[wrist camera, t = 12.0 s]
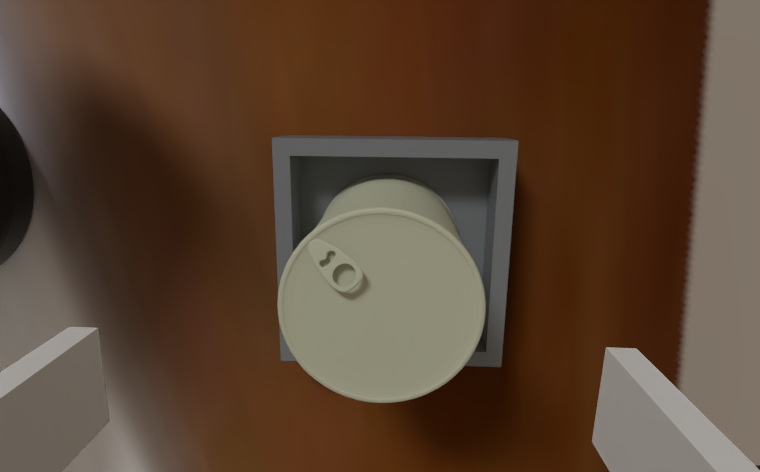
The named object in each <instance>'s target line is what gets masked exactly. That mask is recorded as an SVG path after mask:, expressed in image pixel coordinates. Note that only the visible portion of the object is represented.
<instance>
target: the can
mask: <svg viewBox="0 0 760 472" xmlns="http://www.w3.org/2000/svg"><path fill="white" fill-rule="evenodd" d="M485 314H486V299H485V291H484V286H483V282H482V278H481V276H480V273H479V270H478V268H477V266H476V264H475V262H474V260H473V258H472V257H471V255H470V254H469V252H468V251H467V249H466V248H465V247H464V245H463V243H462V241H461V239H460V237H459V235H458V231H457V227H456V223H455V220H454V218H453V215H452V213H451V211H450V209H449V208H448V206H447V205H446V203H445V202H444V201H443V199H442V198H441V197H440V196H439V195H438V194H437V193H436V192H435V191H434V190H432V189H431V188H430V187H428V186H427V185H425V184H423V183H422V182H419V181H417V180H415V179H412V178H410V177H406V176H402V175H395V174H380V175H374V176H369V177H366V178H363V179H360V180H358V181H356V182H354V183H352V184H351V185H349V186H347V187H346V188H345V189H343V190H342V191H341V192H340V193H339V194H338V195H337V196H336V197H335V198H334V199H333V200H332V202H331V203H330V204H329V206H328V207H327V209H326V211H325V213H324V215H323V217H322V220H321V221H320V222H319V224H318V225H317V226H316V227H315V229H314V230H313V231H312V232H310V233H309V234H308V235H307V236H306V237H305V238H304V239H303V240H302V241H301V242H300V244H299V245H298V246H297V248H296V249H295V250H294V252H293V253H292V255H291V257H290V258H289V260H288V262H287V264H286V266H285V268H284V271H283V274H282V277H281V280H280V285H279V290H278V316H279V323H280V327H281V330H282V334H283V336H284V339H285V341H286V343H287V345H288V347H289V349H290V351H291V353H292V354H293V356H294V357H295V359H296V360H297V361H298V363H299V364H300V365H301V367H302V368H303V369H304V370H305V371H306V372H307V373H308V374H309V375H310V376H312V377H313V378H314V379H315V380H316V381H318V382H319V383H321V384H322V385H324V386H325V387H327V388H328V389H330V390H332V391H334V392H336V393H338V394H341V395H343V396H346V397H349V398H352V399H356V400H360V401H365V402H373V403H394V402H402V401H407V400H411V399H415V398H418V397H421V396H424V395H426V394H428V393H430V392H432V391H434V390H436V389H438V388H440V387H441V386H443V385H444V384H446V383H447V382H448V381H450V380H451V379H452V378H453V377H454V376H455V375H456V374H457V373H458V372H459V371H460V370H461V369H462V368H463V367H464V366H465V364H466V363H467V362H468V361H469V359H470V358H471V356H472V354H473V353H474V351H475V349H476V347H477V345H478V343H479V340H480V338H481V335H482V331H483V327H484V323H485Z"/></svg>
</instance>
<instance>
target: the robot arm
mask: <svg viewBox="0 0 760 472" xmlns="http://www.w3.org/2000/svg"><path fill="white" fill-rule="evenodd" d="M32 209H33V181H32V174H31V169H30V165H29V162H28V158H27V155H26V153H25V150H24V148H23V145H22V143H21V141H20V139H19V137H18V135H17V133H16V131H15V130H14V128H13V126H12V125H11V123H10V122H9V120H8V119H7V118H6V116H5V115H4V114H3V112H2V111H1V110H0V265H1V264H2V263H3V262H4V261H6V260H7V259H8V258H9V257H10V256H11V255H12V254H13V252H14V251H15V250H16V249H17V247H18V246H19V244H20V243H21V241H22V239H23V238H24V235H25V233H26V231H27V228H28V226H29V223H30V219H31V214H32ZM108 421H109V413H108V405H107V396H106V388H105V380H104V372H103V364H102V355H101V347H100V339H99V331H98V328H92V327H68V328H66V329H65V330H63V331H62V332H60V333H59V334H57V335H56V336H54V337H53V338H51V339H50V340H48V341H47V342H45V343H44V344H42V345H40V346H39V347H37V348H36V349H34V350H33V351H31V352H30V353H28V354H27V355H25V356H24V357H22V358H21V359H19V360H18V361H16V362H15V363H13V364H12V365H10V366H8V367H7V368H5V369H4V370H2V371H1V372H0V472H62V471H63V470H64V469H65V468H66V467H67V466H68V464H69V463H70V462H71V461H72V460H73V459H74V458H75V457H76V456H77V455H78V454H79V453H80V452H81V450H82V449H83V448H84V447H85V446H86V445H87V444H88V443H89V442H90V441H91V440H92V439H93V438H94V437H95V435H96V434H97V433H98V432H99V431H100V430H101V429H102V428H103V427H104V426H105V425H106V424H107V423H108ZM592 443H593V444H594V446H595V448H596V449H597V451H598V453H599V454H600V456H601V458H602V459H603V461H604V463H605V464H606V466H607V468H608V470H609V471H610V472H760V466H755V465H754V464H753V463H752V462H751V461H750V460H749V459H748V458H747V457H746V456H744V454H743V453H742V452H741V451H740V450H739V449H738V448H737V447H736V446H735V445H734V444H733V443H732V442H731V441H730V440H729V439H727V437H726V436H725V435H724V434H723V433H721V432H720V430H718V429H717V428H716V427H715V426H714V425H713V424H712V423H711V422H710V421H709V420H708V419H707V418H706V417H705V416H704V415H703V414H702V413H701V412H700V411H699V410H698V409H697V408H696V407H695V406H694V405H693V404H692V403H691V402H690V401H689V400H688V399H687V398H686V397H685V396H684V395H683V394H682V393H681V392H680V391H679V390H678V389H677V388H676V387H675V386H674V385H673V384H672V383H671V382H670V381H669V380H668V379H667V378H666V377H665V376H664V375H663V374H662V373H661V372H660V371H659V370H658V369H657V368H656V367H655V366H654V365H653V364H652V363H651V362H650V361H649V360H648V359H647V358H646V357H645V356H644V355H643V354H641V353H640V352H639V351H638V350H637V349H634V348H608V347H606V351H605V358H604V364H603V371H602V378H601V384H600V391H599V398H598V404H597V411H596V418H595V424H594V431H593V438H592Z"/></svg>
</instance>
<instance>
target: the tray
mask: <svg viewBox="0 0 760 472" xmlns="http://www.w3.org/2000/svg"><path fill="white" fill-rule="evenodd" d="M517 154H518V141H516V140H512V139H507V138H477V137H398V136H319V135H285V136H280V137H274V138H272V155H273V180H274V204H275V229H276V253H277V278H278V290H279V285H280V280H281V277H282V274H283V271H284V268H285V266H286V264H287V262H288V260H289V258H290V257H291V255H292V253H293V252H294V250H295V249H296V248H297V246H298V245H299V244H300V242H301V241H302V240H303V239H304V238H305V237H306V236H307V235H308V234H309V233H310V232H312V231H313V230H314V229H315V227H316V226H317V225H318V224H319V222H320V221H321V220H322V217H323V215H324V213H325V211H326V209H327V207H328V206H329V204H330V203H331V202H332V200H333V199H334V198H335V197H336V196H337V195H338V194H339V193H340V192H341V191H342V190H343V189H345V188H346V187H347V186H349V185H351V184H352V183H354V182H356V181H358V180H360V179H363V178H366V177H369V176H374V175H380V174H395V175H402V176H406V177H410V178H412V179H415V180H417V181H419V182H422V183H423V184H425V185H427V186H428V187H430V188H431V189H432V190H434V191H435V192H436V193H437V194H438V195H439V196H440V197H441V198H442V199H443V201H444V202H445V203H446V205H447V206H448V208H449V209H450V211H451V213H452V215H453V218H454V220H455V223H456V227H457V231H458V235H459V237H460V239H461V241H462V243H463V245H464V247H465V248H466V249H467V251H468V252H469V254H470V255H471V257H472V258H473V260H474V262H475V264H476V266H477V268H478V270H479V273H480V276H481V278H482V282H483V286H484V291H485V299H486V314H485V323H484V327H483V331H482V335H481V338H480V340H479V343H478V345H477V347H476V349H475V351H474V353H473V354H472V356H471V358H470V359H469V361H468V362H467V363H466V364H465V366H481V367H501V364H502V351H503V338H504V325H505V311H506V298H507V285H508V272H509V259H510V246H511V232H512V219H513V206H514V193H515V180H516V167H517ZM279 327H280V323H279ZM280 351H281V360H282V361H297V360H296V359H295V357H294V356H293V354H292V353H291V351H290V349H289V347H288V345H287V343H286V341H285V339H284V336H283V334H282V330H281V327H280Z"/></svg>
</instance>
